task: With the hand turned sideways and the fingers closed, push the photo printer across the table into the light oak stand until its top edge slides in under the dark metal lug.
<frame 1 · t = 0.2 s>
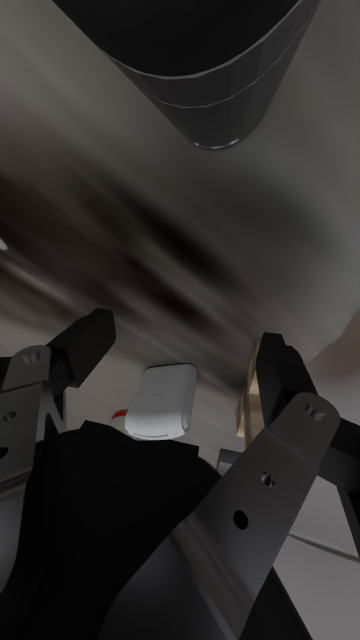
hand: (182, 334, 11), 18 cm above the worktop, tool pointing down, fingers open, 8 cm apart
retention stand: (250, 384, 37), on the worktop
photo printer: (172, 371, 39), on the worktop
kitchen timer: (139, 425, 53), on the worktop
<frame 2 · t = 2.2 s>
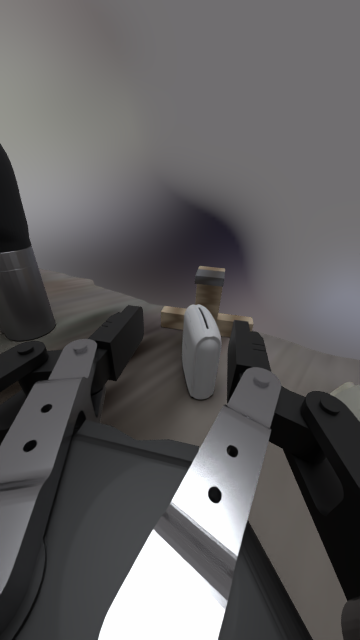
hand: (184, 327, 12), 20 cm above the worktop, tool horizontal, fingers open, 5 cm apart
retention stand: (204, 330, 48), on the worktop
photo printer: (195, 376, 36), on the worktop
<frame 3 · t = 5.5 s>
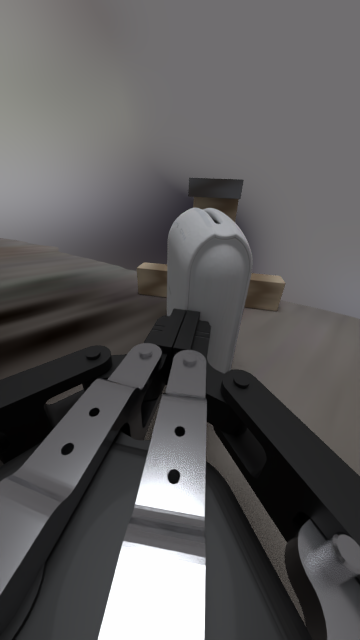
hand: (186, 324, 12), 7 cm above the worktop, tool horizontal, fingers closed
retention stand: (204, 299, 31), on the worktop
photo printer: (190, 358, 20), on the worktop, touching gripper
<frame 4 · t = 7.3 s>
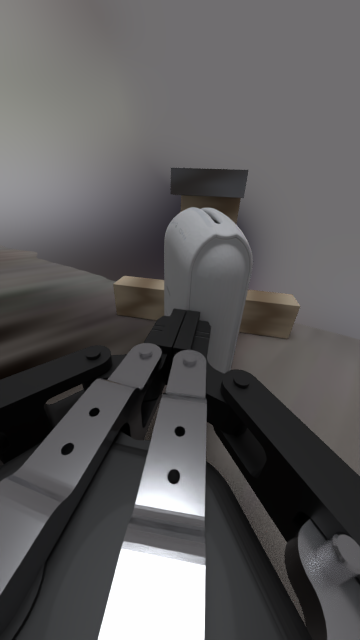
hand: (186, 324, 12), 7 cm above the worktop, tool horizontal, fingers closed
retention stand: (198, 321, 25), on the worktop
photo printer: (189, 358, 20), on the worktop, touching gripper
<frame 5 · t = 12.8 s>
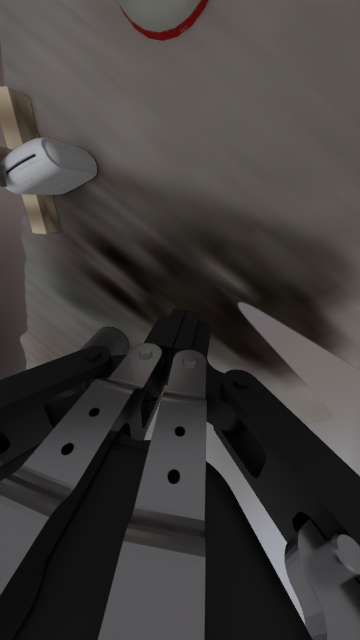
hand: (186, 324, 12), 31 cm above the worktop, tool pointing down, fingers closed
retention stand: (42, 173, 39), on the worktop
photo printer: (74, 174, 38), on the worktop
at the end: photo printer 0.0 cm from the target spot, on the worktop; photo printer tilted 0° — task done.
